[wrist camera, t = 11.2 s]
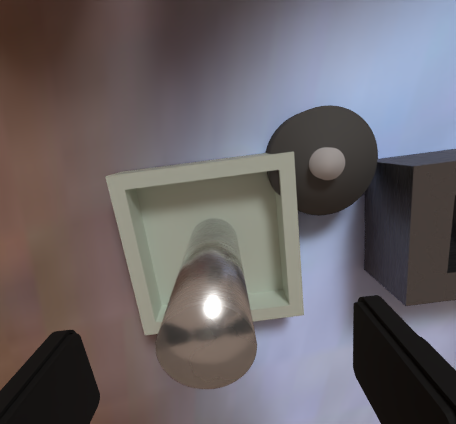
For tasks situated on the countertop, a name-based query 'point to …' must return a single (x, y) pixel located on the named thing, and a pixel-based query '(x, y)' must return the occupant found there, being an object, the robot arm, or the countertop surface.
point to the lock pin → (208, 313)
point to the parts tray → (206, 209)
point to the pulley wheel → (326, 157)
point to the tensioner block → (413, 226)
